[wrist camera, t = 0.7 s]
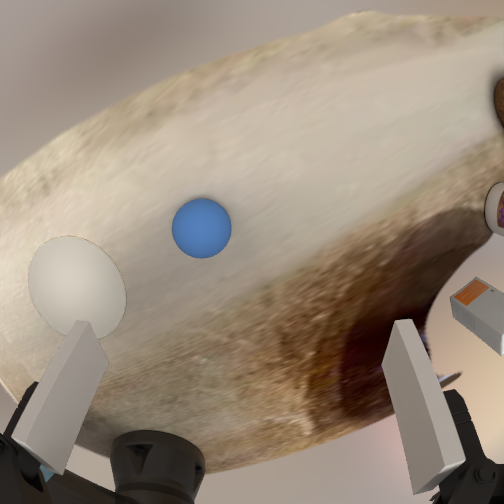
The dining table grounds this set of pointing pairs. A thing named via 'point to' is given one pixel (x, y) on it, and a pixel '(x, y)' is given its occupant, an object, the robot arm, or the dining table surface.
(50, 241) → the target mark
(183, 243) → the ball
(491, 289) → the skincare box
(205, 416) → the dining table surface
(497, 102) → the shell
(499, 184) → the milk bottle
